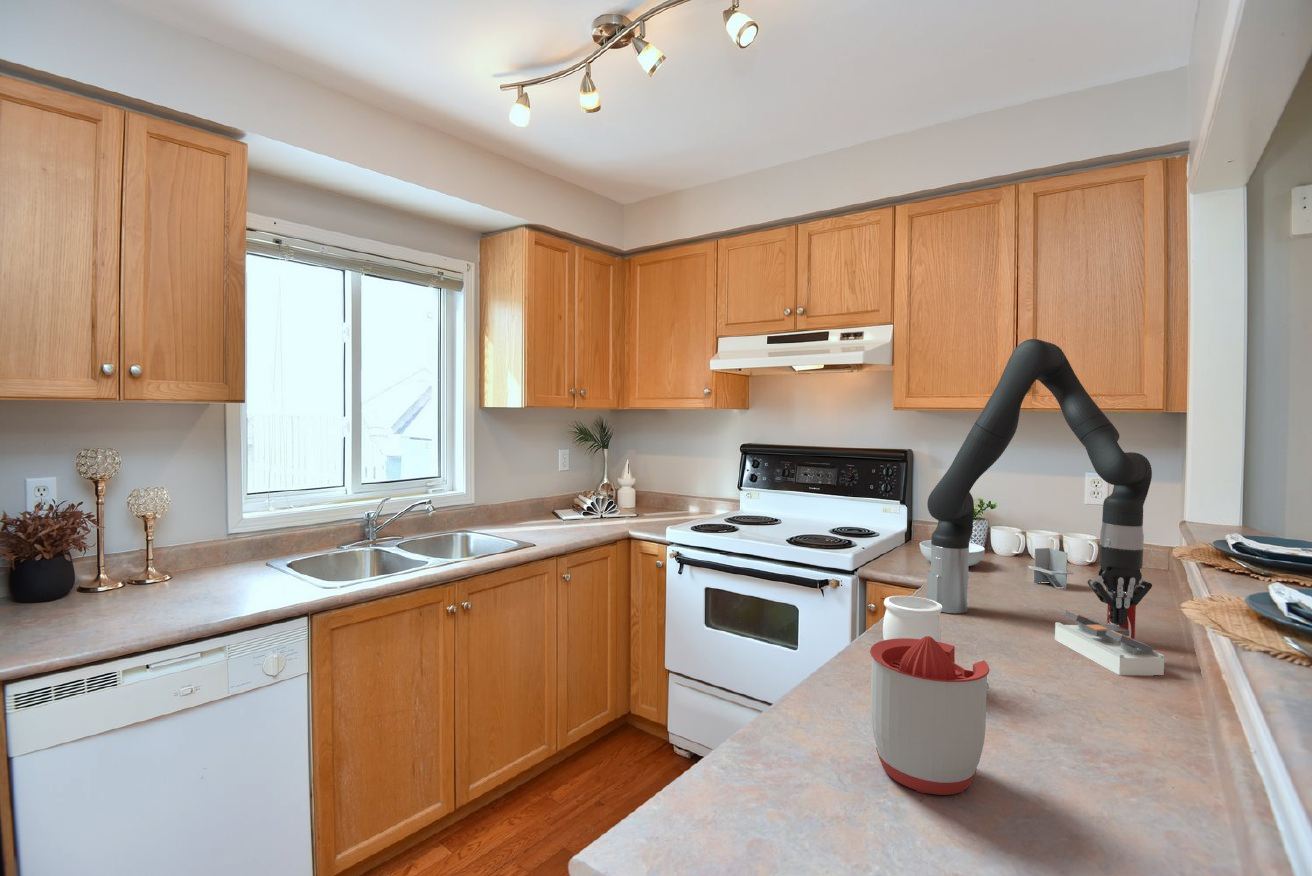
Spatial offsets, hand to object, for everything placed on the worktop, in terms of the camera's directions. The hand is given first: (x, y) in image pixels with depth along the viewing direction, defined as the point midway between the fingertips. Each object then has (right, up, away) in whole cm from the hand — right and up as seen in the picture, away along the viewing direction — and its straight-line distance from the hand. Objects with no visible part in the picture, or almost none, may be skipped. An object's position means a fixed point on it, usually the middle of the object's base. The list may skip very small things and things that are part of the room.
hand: (1117, 623), depth 135 cm
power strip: (-3, -7, +3) cm, 8 cm away
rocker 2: (-2, -2, -7) cm, 7 cm away
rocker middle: (-3, -1, 0) cm, 3 cm away
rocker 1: (-3, -1, +6) cm, 7 cm away
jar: (-50, -7, -12) cm, 52 cm away
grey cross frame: (+21, -6, +57) cm, 61 cm away
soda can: (+7, -7, +9) cm, 14 cm away
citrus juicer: (-61, -8, -45) cm, 76 cm away
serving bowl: (+4, -5, +85) cm, 85 cm away
